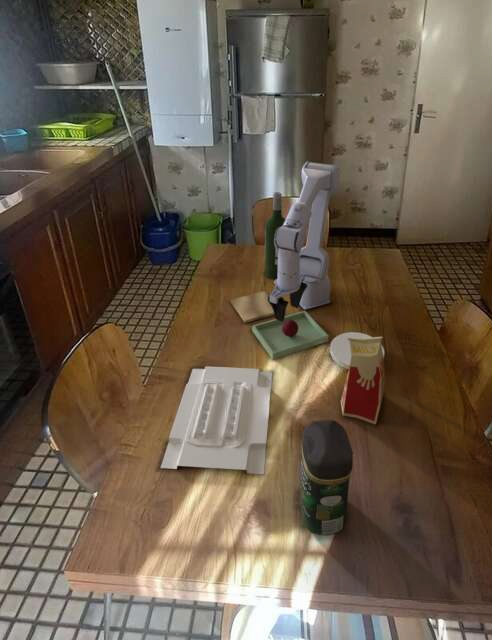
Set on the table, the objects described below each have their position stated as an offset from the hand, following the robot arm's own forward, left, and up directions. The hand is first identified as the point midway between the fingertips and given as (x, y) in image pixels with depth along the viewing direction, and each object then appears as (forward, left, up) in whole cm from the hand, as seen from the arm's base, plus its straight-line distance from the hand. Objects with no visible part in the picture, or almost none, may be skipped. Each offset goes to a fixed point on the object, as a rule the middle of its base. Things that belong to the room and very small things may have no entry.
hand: (287, 312), depth 119 cm
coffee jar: (+17, +47, -8) cm, 50 cm away
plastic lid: (-13, +16, -8) cm, 22 cm away
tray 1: (+26, +19, -8) cm, 33 cm away
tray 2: (-1, +1, -8) cm, 8 cm away
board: (+2, -16, -8) cm, 18 cm away
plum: (-1, +1, -5) cm, 5 cm away
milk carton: (-4, +30, -8) cm, 31 cm away
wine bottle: (-13, -32, -8) cm, 36 cm away
